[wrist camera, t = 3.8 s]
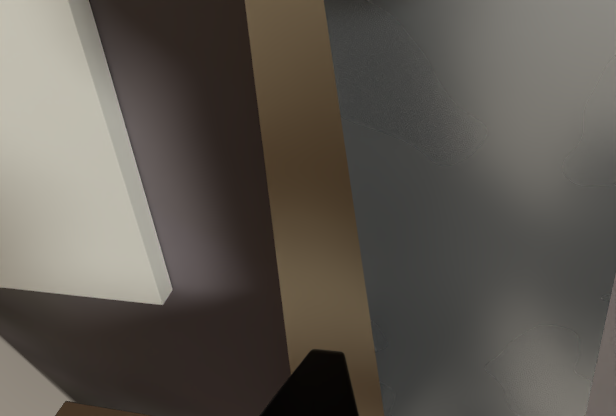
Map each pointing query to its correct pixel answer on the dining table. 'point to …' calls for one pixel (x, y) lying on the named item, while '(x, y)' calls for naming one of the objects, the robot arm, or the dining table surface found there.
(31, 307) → the dining table surface
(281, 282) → the plane block
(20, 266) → the trivet
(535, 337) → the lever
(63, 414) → the cap block
